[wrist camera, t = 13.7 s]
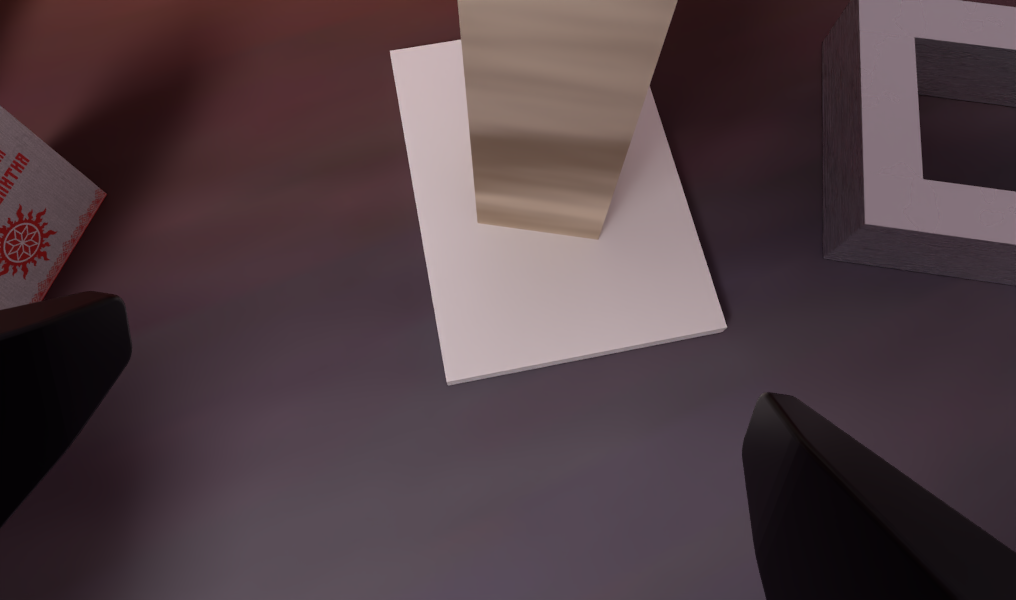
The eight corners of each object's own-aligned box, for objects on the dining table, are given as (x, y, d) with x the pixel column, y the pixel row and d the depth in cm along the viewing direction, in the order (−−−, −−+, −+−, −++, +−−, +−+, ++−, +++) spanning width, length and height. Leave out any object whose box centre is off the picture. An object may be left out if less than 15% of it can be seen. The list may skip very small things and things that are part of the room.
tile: (721, 332, 23) (727, 327, 23) (448, 385, 23) (446, 382, 22) (623, 23, 28) (626, 13, 27) (392, 60, 27) (390, 50, 27)
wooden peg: (598, 239, 24) (697, -60, 12) (477, 223, 24) (449, -88, 12) (609, 135, 25) (709, -229, 13) (496, 120, 26) (488, -253, 13)
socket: (1096, 297, 24) (1176, 267, 21) (822, 258, 24) (864, 223, 22) (1063, 73, 27) (1129, 21, 24) (822, 42, 28) (858, -13, 25)
